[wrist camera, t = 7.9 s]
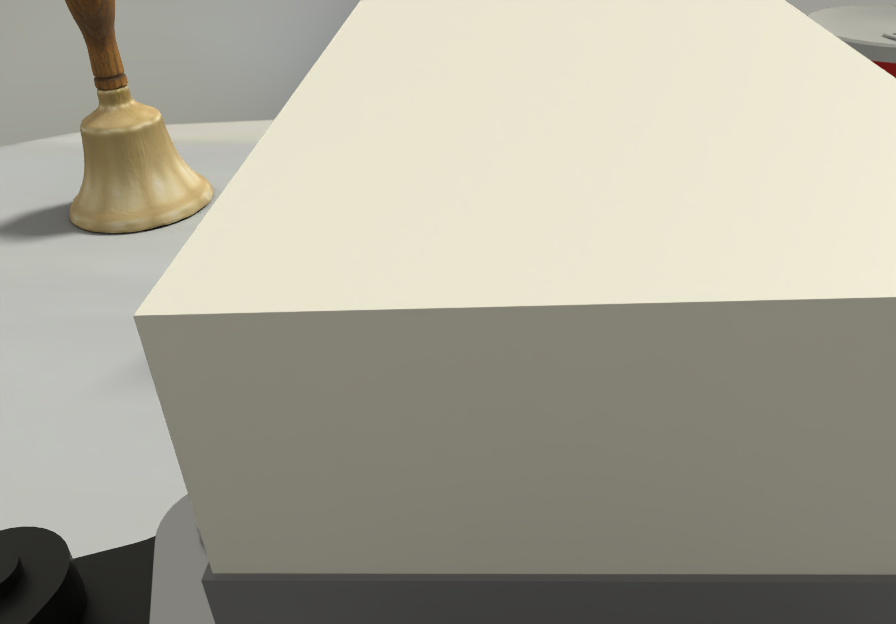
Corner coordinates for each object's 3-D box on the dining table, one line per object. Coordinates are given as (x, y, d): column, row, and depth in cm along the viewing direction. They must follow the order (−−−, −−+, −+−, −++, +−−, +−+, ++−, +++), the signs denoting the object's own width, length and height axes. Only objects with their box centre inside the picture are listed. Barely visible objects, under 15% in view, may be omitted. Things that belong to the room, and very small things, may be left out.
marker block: (677, 616, 15) (756, -23, 9) (794, 1159, 9) (1216, 297, 3) (427, 615, 15) (356, -1, 10) (379, 1135, 9) (117, 320, 4)
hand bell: (41, 214, 49) (-56, -83, 40) (157, 169, 54) (92, -101, 46) (126, 247, 44) (37, -78, 36) (242, 194, 50) (188, -98, 42)
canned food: (864, 318, 35) (931, 57, 30) (725, 248, 41) (758, 20, 36) (973, 270, 38) (1053, 26, 33) (828, 211, 44) (874, -4, 39)
